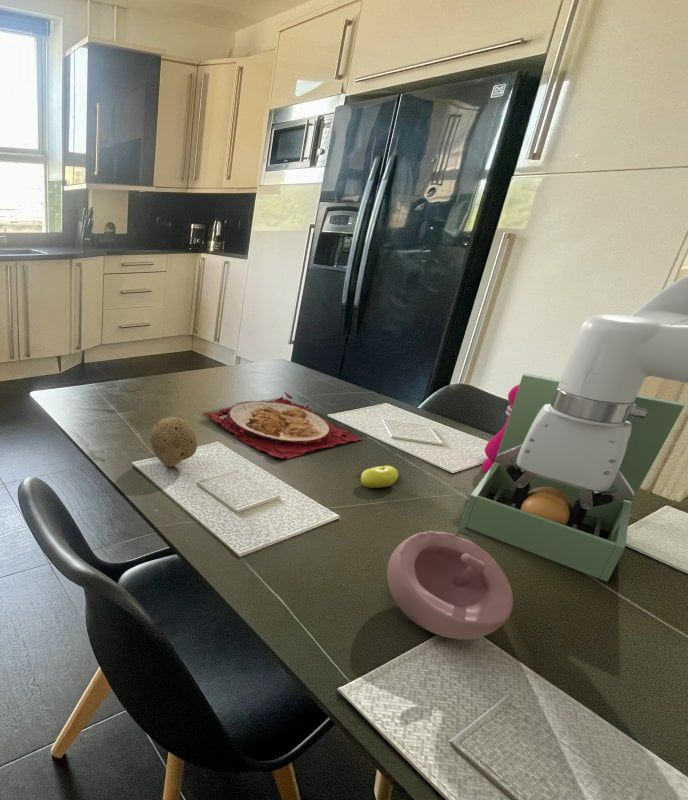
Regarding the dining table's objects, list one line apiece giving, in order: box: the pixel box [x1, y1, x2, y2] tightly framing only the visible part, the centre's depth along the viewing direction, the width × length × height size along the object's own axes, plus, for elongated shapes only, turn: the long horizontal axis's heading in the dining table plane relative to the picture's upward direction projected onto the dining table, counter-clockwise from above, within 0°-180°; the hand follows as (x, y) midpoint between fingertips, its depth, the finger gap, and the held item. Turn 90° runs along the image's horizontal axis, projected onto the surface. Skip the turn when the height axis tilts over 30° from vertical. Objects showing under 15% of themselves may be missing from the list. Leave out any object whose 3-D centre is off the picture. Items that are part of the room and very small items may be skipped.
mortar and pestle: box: [386, 530, 514, 640], centre depth 58 cm, size 12×12×11 cm
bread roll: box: [521, 487, 572, 525], centre depth 73 cm, size 9×5×5 cm, turn 131°
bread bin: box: [457, 462, 633, 583], centre depth 75 cm, size 17×17×7 cm
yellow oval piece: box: [360, 465, 399, 489], centre depth 89 cm, size 4×8×4 cm, turn 106°
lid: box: [496, 372, 686, 502], centre depth 75 cm, size 17×17×5 cm
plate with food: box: [204, 391, 363, 460], centre depth 112 cm, size 24×26×4 cm
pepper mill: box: [481, 383, 523, 474], centre depth 91 cm, size 7×7×20 cm
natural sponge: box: [149, 416, 198, 468], centre depth 94 cm, size 9×9×10 cm
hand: (542, 516), depth 73 cm, fingers closed on bread roll, 5 cm apart
